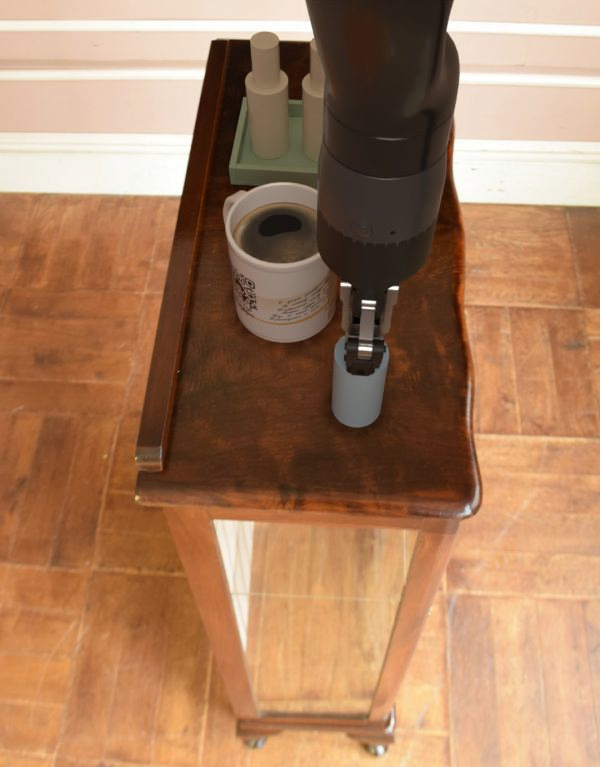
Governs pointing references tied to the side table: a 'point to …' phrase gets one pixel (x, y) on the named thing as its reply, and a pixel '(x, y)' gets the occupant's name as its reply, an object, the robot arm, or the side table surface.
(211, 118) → the side table surface
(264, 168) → the tray
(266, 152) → the cream bottle
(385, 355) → the blue bottle
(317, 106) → the cream bottle
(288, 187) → the mug
